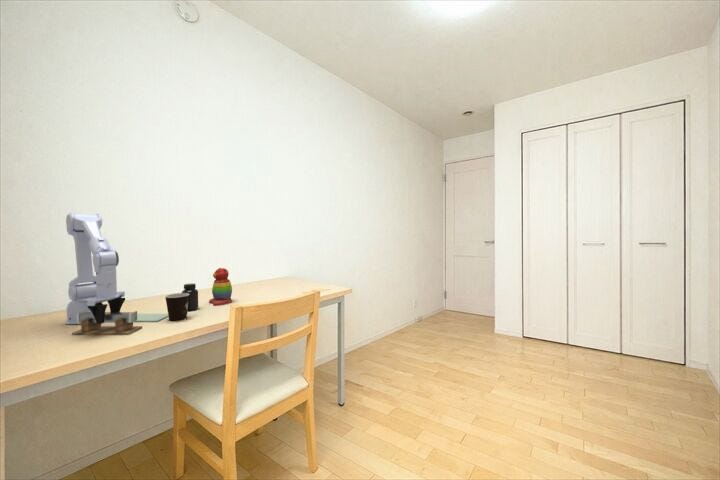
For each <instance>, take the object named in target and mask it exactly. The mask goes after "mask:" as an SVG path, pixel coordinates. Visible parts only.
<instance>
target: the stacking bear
mask: <svg viewBox="0 0 720 480" xmlns="http://www.w3.org/2000/svg"><path fill="white" fill-rule="evenodd" d="M229 274H230V273H229V271H228V269H227V268H224V267H223V268H222V267H219V268H217V269H216V270H215V271H214V273H213V274H212V277H213V278H214V279H215V280H213V283H212V288H211V290H212V291H211V294H212V297H213V298H210V299H209V300H208V303H209V304H212V305H213V307H214V306H215V307H217V306H224V305H228V304H230V303H232V302H233V300H232V295H233V294H232V293H233V286H232V283H231V280H230V279H229Z"/></svg>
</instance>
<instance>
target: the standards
mask: <svg viewBox="0 0 720 480" xmlns="http://www.w3.org/2000/svg"><path fill="white" fill-rule="evenodd" d="M80 327H81V329H79V330H75V331H72V332H71V336H102V335H103V336H116V335H117V336H129V335H132V334H133V333H135V332H138V331H139V330H142V329H143V326H142V325H137V326H135V325H134V322H131V323H123V319H116V320H115V323H114V325H113V326H109V325H103V326H102V323H90V319H83V320H81V324H80Z"/></svg>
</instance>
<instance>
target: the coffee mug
mask: <svg viewBox="0 0 720 480" xmlns="http://www.w3.org/2000/svg"><path fill="white" fill-rule="evenodd" d="M188 301H189V294H188V293H182V292H181V293H179V292H178V293H171V294H167V295H165V303H166V304H165V305H166V309H167V314H168V316H169V317H168V321H170V322H178V321H183V320H186V319H187V318H188V317H187V316H188V311H187V310H188Z"/></svg>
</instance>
